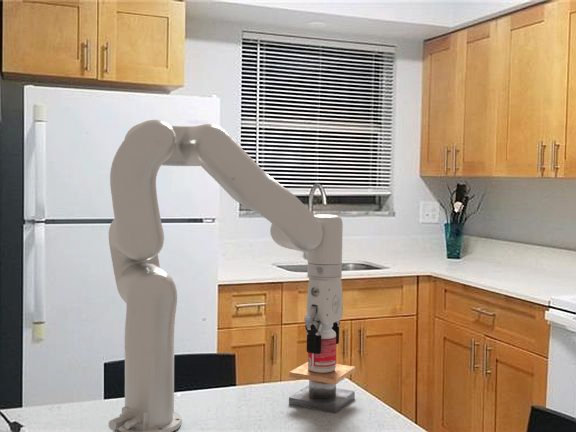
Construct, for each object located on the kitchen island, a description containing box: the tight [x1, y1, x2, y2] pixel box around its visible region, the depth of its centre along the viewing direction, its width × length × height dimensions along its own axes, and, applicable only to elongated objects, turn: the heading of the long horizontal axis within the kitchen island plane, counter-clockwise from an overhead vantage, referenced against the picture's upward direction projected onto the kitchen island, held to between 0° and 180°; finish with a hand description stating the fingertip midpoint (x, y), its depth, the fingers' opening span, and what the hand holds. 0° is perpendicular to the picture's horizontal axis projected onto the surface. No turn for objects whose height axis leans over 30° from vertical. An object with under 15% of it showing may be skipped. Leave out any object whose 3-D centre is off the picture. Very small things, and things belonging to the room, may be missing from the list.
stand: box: [288, 361, 356, 414], centre depth 147 cm, size 11×11×7 cm
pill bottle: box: [307, 320, 337, 373], centre depth 146 cm, size 6×6×11 cm
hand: (323, 347), depth 146 cm, fingers open, 9 cm apart
